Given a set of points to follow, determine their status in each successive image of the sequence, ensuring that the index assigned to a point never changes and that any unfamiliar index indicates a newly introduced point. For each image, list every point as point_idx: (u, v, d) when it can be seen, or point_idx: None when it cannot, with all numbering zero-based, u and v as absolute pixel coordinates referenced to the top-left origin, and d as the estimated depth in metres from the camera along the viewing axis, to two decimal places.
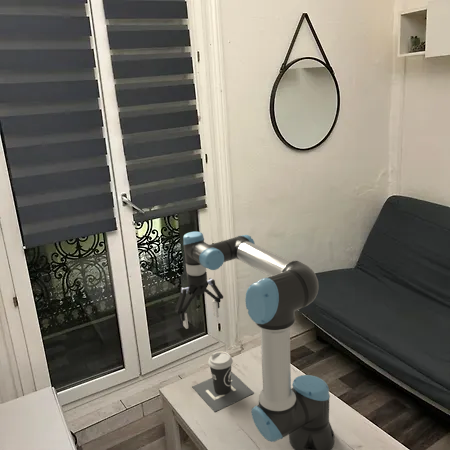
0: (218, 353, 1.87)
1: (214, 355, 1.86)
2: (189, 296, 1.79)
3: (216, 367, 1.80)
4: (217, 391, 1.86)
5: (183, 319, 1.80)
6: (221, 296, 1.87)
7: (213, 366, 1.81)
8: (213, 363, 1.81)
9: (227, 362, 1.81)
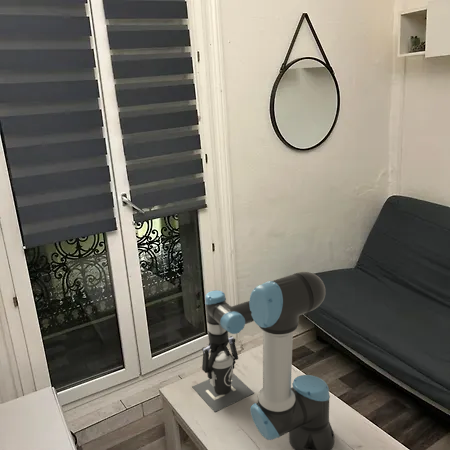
0: (219, 353, 1.87)
1: None
2: (213, 354, 1.81)
3: (217, 366, 1.80)
4: (217, 391, 1.86)
5: (210, 377, 1.83)
6: (236, 357, 1.87)
7: (214, 365, 1.81)
8: (214, 362, 1.81)
9: (228, 362, 1.81)
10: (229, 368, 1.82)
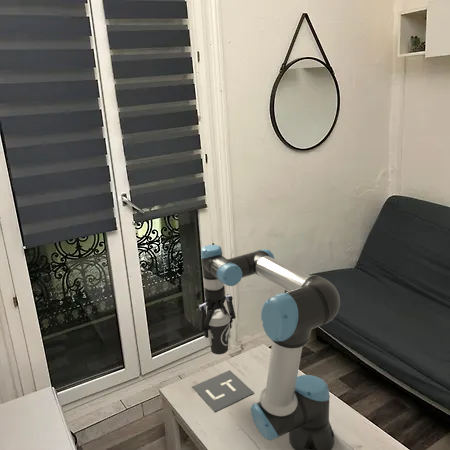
0: (215, 311, 1.81)
1: None
2: (209, 312, 1.75)
3: (213, 324, 1.74)
4: (214, 351, 1.80)
5: (206, 336, 1.77)
6: (234, 316, 1.81)
7: (210, 323, 1.75)
8: (210, 320, 1.75)
9: (225, 319, 1.75)
10: (226, 326, 1.76)
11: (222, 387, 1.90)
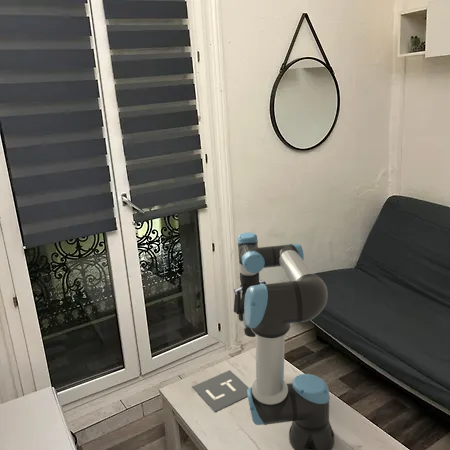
0: None
1: None
2: (244, 296, 1.85)
3: None
4: (248, 333, 1.89)
5: (241, 319, 1.86)
6: None
7: None
8: None
9: None
10: None
11: (222, 387, 1.90)
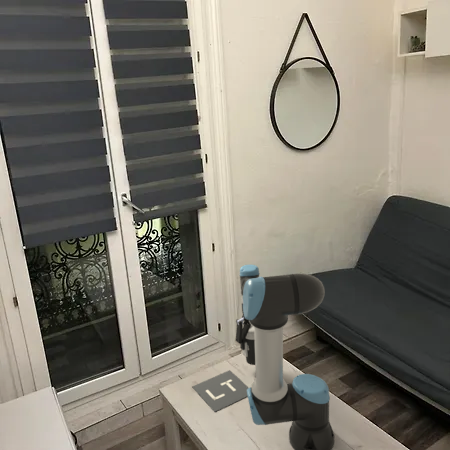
0: None
1: None
2: (246, 326, 1.89)
3: (250, 337, 1.88)
4: (249, 361, 1.94)
5: (243, 348, 1.91)
6: None
7: (247, 336, 1.89)
8: (247, 334, 1.89)
9: None
10: None
11: (222, 387, 1.90)
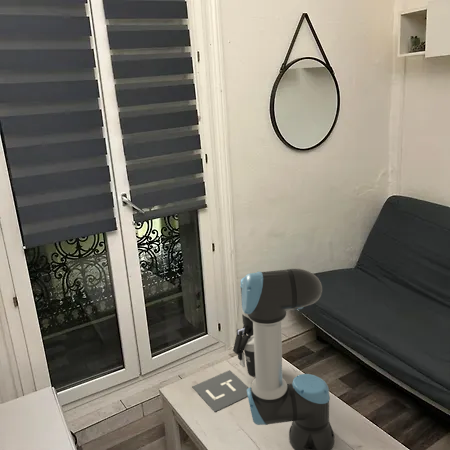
0: (251, 337, 1.97)
1: None
2: (245, 336, 1.90)
3: (250, 350, 1.90)
4: (251, 373, 1.96)
5: (240, 359, 1.91)
6: None
7: (247, 349, 1.91)
8: (247, 346, 1.91)
9: None
10: None
11: (222, 387, 1.90)
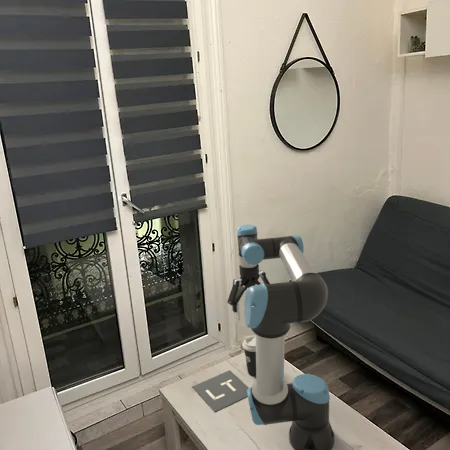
0: (251, 337, 1.97)
1: (248, 339, 1.96)
2: (242, 288, 1.83)
3: (251, 349, 1.90)
4: (251, 373, 1.96)
5: (235, 311, 1.84)
6: None
7: (248, 349, 1.91)
8: (248, 346, 1.91)
9: None
10: None
11: (222, 387, 1.90)
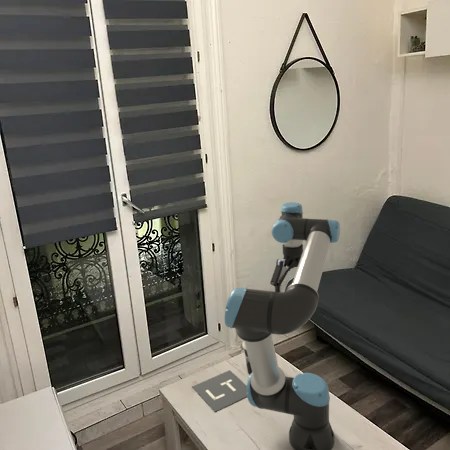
0: None
1: None
2: (285, 268, 1.76)
3: None
4: None
5: (278, 292, 1.77)
6: None
7: None
8: None
9: None
10: None
11: (222, 387, 1.90)
